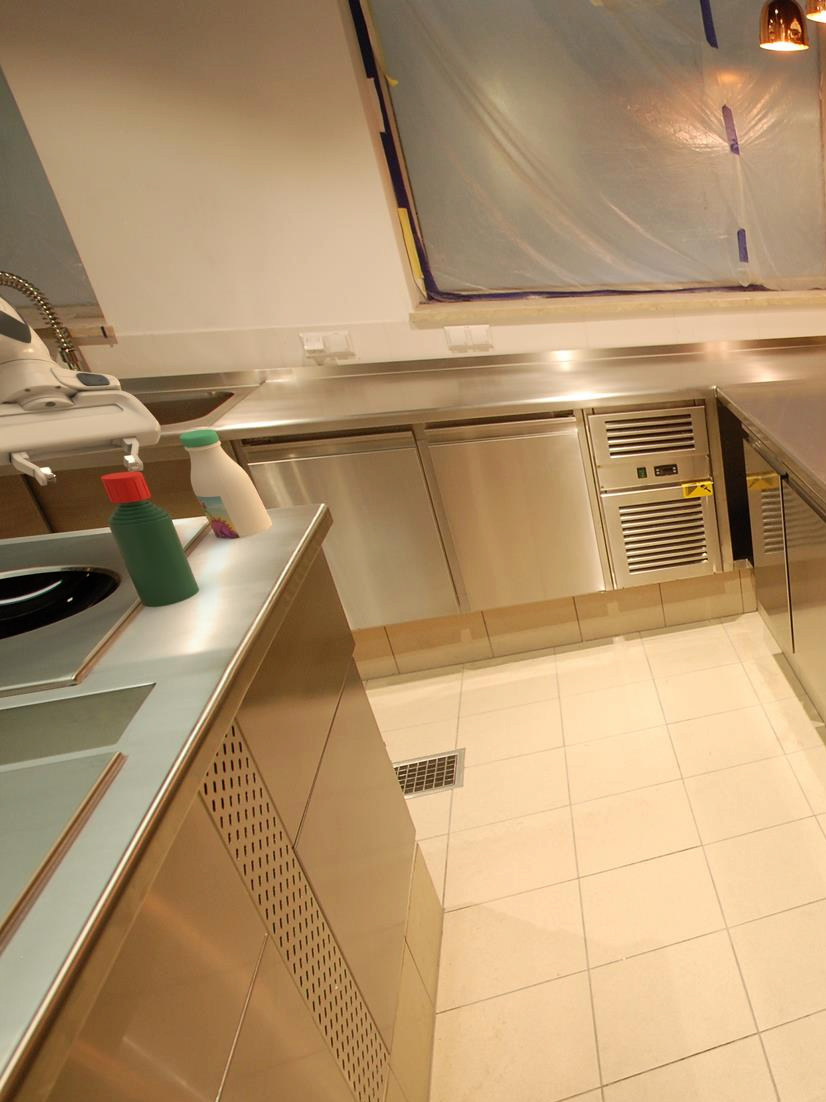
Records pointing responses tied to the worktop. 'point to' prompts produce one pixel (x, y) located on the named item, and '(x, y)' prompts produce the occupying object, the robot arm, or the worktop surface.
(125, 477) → the cap
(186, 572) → the bottle
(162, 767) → the worktop surface
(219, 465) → the milk bottle
